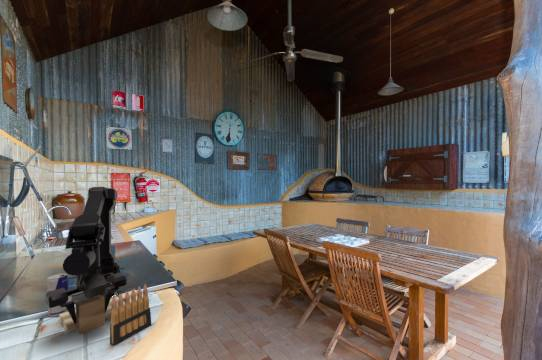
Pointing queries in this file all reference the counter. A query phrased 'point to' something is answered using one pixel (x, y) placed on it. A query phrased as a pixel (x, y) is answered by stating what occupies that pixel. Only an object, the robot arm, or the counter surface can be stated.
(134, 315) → the ammunition clip
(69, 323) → the maple board
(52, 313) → the energy drink
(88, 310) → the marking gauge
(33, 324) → the counter surface
